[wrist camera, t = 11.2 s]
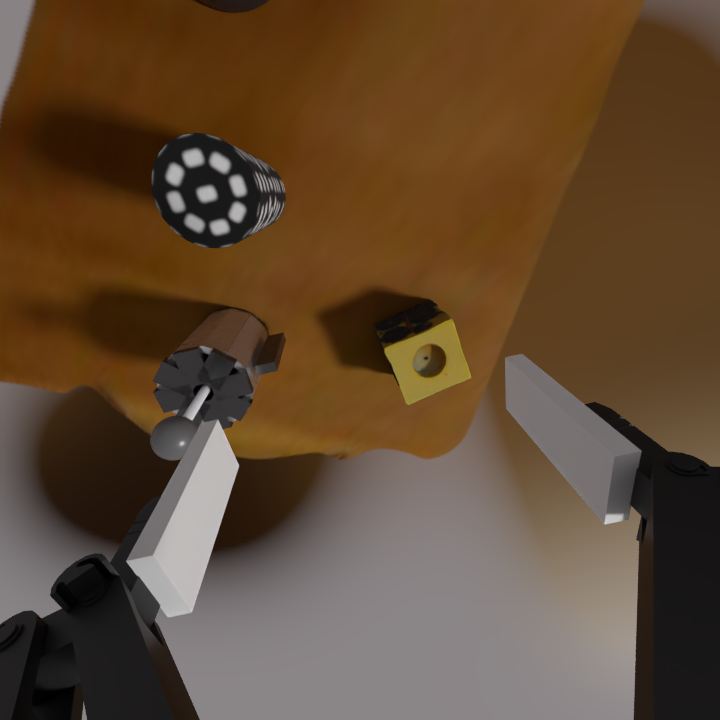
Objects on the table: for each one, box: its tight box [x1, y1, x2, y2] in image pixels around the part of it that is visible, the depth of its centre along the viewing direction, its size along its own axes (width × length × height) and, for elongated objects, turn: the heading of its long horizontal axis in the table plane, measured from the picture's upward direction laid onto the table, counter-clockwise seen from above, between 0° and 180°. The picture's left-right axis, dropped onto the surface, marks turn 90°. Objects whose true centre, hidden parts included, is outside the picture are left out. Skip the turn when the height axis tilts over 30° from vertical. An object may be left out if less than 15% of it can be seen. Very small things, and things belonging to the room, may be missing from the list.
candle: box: [374, 301, 471, 405], centre depth 53 cm, size 10×10×10 cm
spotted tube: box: [151, 133, 285, 248], centre depth 37 cm, size 8×8×20 cm
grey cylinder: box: [153, 308, 286, 429], centre depth 47 cm, size 10×13×16 cm
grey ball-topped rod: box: [151, 354, 237, 460], centre depth 42 cm, size 8×8×24 cm
